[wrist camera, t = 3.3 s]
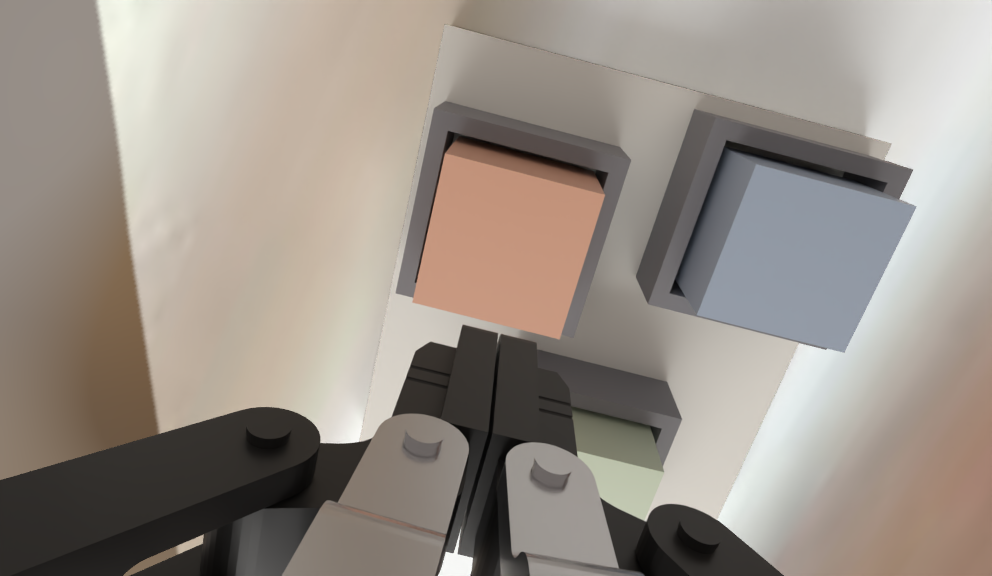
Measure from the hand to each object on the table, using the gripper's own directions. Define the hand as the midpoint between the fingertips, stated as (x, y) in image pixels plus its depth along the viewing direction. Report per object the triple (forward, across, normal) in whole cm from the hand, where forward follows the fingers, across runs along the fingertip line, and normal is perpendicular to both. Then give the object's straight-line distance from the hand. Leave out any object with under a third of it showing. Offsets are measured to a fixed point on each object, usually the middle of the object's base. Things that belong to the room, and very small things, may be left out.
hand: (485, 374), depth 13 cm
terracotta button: (+12, 0, 0) cm, 12 cm away
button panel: (+16, -5, +4) cm, 17 cm away
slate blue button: (+12, -9, -2) cm, 15 cm away
